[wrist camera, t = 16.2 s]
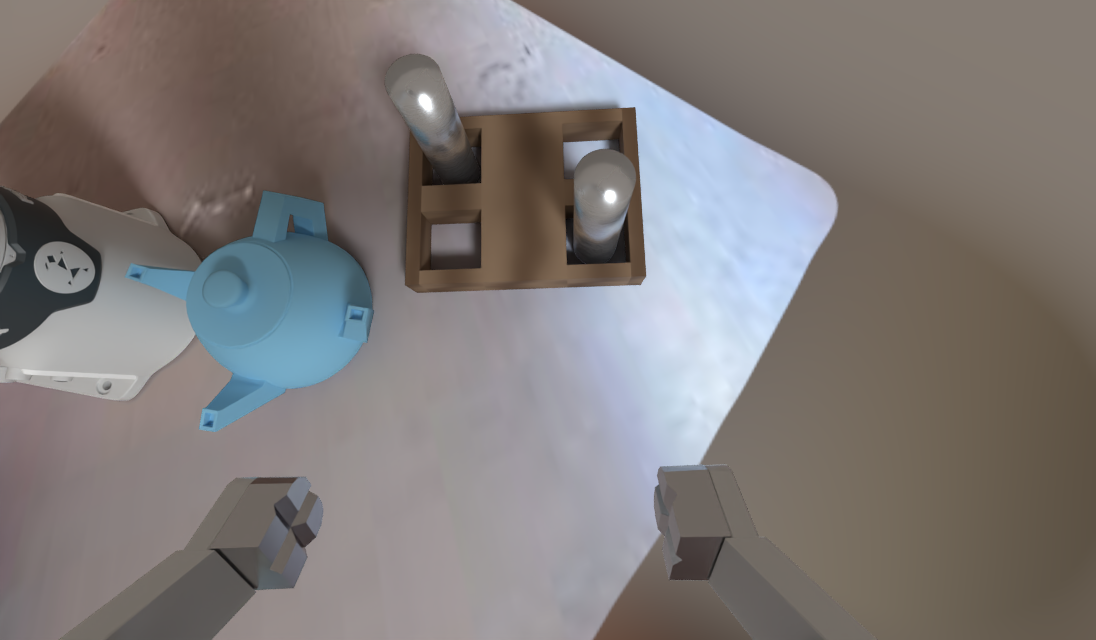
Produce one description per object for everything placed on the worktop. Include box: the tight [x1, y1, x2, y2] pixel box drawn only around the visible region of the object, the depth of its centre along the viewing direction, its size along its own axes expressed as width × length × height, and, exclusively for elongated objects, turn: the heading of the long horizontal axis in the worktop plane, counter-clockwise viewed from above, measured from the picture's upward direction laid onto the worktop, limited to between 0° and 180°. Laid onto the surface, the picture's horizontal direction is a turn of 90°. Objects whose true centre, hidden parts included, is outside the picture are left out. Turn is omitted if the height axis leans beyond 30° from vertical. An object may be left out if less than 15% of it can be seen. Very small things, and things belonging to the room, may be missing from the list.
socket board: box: [405, 107, 646, 293], centre depth 40 cm, size 21×16×3 cm
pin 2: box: [573, 149, 636, 264], centre depth 34 cm, size 4×4×13 cm
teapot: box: [125, 190, 374, 432], centre depth 36 cm, size 15×15×11 cm
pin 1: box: [385, 54, 480, 185], centre depth 36 cm, size 4×4×13 cm
